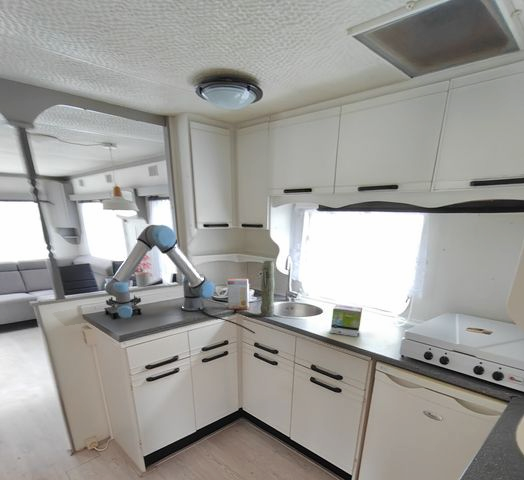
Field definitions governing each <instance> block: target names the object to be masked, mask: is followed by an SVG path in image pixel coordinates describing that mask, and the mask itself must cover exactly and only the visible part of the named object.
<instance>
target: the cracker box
mask: <svg viewBox="0 0 524 480" xmlns="http://www.w3.org/2000/svg"><path fill="white" fill-rule="evenodd" d="M249 283H250V282H249V278H228V279H227V305H228V307H227V309H228V310H243V311H245V310H246V311H247V310H249V308H250V298H249V297H250V293H249V291H250V290H249Z"/></svg>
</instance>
